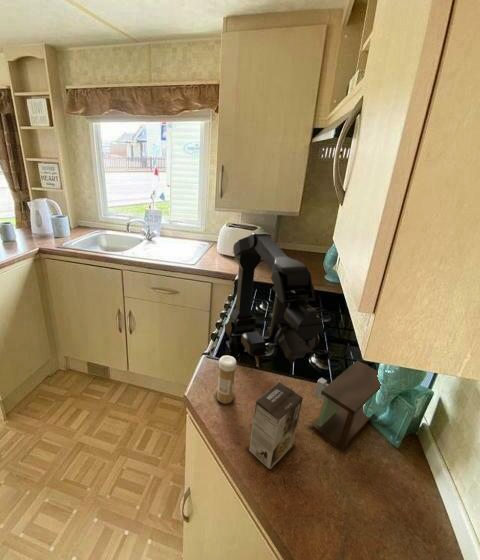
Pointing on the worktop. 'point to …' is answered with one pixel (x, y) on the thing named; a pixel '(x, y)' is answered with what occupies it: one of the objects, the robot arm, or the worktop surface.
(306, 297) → the robot arm
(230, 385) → the sprinkles bottle
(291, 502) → the worktop surface
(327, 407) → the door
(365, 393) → the dark brown angular piece
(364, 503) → the worktop surface
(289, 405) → the coffee box
